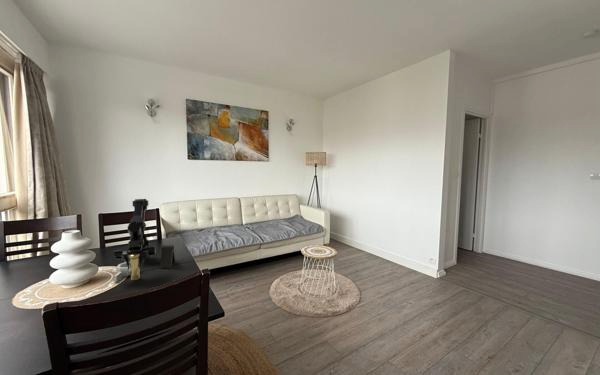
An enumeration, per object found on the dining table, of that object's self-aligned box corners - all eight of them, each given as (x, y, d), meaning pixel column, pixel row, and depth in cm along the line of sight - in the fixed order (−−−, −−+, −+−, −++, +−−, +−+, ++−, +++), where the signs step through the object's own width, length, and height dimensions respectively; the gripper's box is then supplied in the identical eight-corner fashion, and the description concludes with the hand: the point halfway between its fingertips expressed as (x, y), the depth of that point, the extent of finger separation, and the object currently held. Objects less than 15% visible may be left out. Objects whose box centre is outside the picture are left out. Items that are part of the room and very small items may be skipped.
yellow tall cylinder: (131, 277, 133) (130, 253, 131) (141, 275, 134) (140, 252, 133) (128, 281, 128) (127, 257, 127) (139, 279, 130) (138, 256, 128)
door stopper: (170, 268, 144) (170, 248, 143) (159, 268, 144) (158, 248, 142) (176, 261, 153) (175, 243, 152) (165, 262, 152) (165, 243, 151)
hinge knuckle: (123, 266, 145) (122, 258, 145) (139, 264, 148) (139, 257, 148) (111, 282, 127) (111, 273, 126) (130, 279, 130) (130, 271, 129)
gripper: (112, 235, 128) (109, 264, 119) (154, 231, 136) (154, 258, 128) (116, 245, 136) (113, 273, 127) (155, 241, 144) (155, 266, 136)
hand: (134, 267), depth 129 cm, fingers open, 5 cm apart
